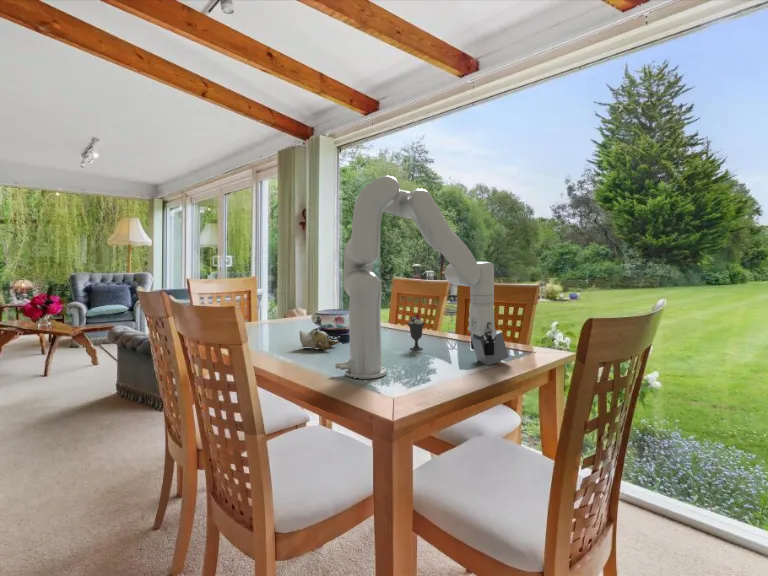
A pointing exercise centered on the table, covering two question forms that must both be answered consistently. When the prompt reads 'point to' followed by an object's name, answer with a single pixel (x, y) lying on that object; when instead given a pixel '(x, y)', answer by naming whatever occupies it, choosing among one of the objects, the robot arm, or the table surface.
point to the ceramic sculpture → (316, 339)
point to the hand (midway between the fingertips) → (482, 351)
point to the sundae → (416, 330)
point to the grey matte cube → (499, 349)
